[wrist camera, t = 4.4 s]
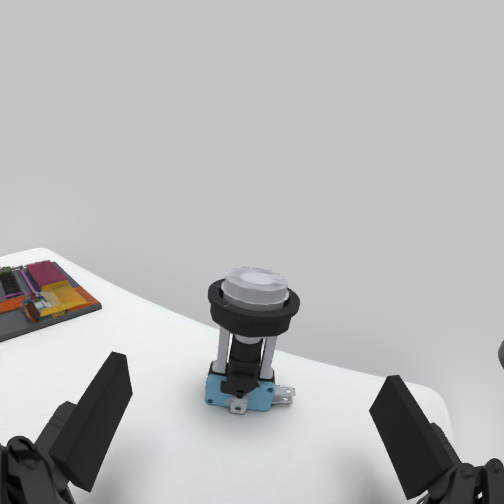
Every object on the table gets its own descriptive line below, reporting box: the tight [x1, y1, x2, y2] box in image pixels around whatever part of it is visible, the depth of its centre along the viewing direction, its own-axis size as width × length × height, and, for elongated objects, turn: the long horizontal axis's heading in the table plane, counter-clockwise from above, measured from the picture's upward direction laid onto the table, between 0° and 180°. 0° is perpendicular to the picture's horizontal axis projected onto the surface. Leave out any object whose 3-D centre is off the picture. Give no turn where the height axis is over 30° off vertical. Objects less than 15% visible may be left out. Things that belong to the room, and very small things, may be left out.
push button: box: [205, 267, 300, 414], centre depth 17 cm, size 7×5×10 cm
